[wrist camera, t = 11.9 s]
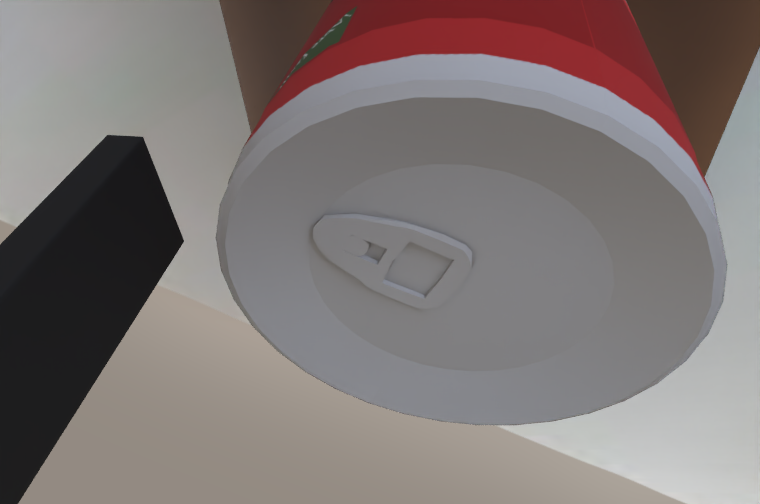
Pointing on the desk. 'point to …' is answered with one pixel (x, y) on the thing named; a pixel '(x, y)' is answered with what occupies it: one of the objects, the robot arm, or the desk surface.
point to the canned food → (475, 211)
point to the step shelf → (650, 11)
